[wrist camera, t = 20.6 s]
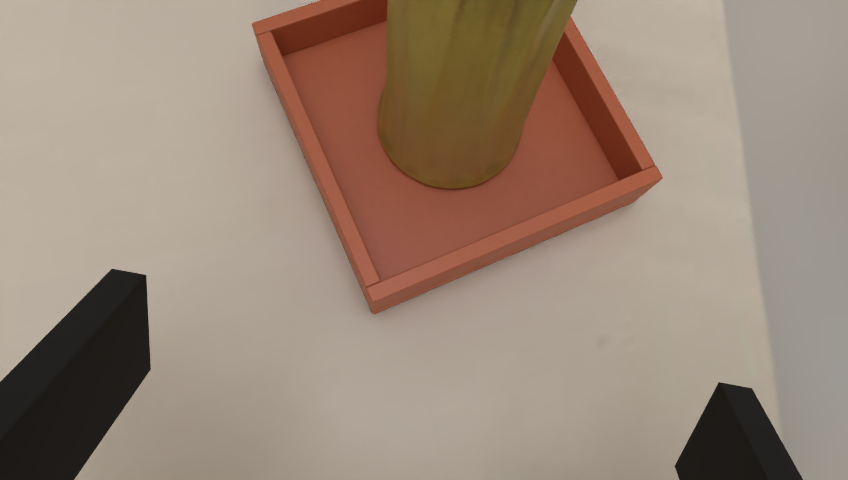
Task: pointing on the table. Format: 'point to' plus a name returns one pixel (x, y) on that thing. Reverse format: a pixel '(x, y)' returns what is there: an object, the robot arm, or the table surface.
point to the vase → (463, 83)
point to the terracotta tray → (431, 206)
